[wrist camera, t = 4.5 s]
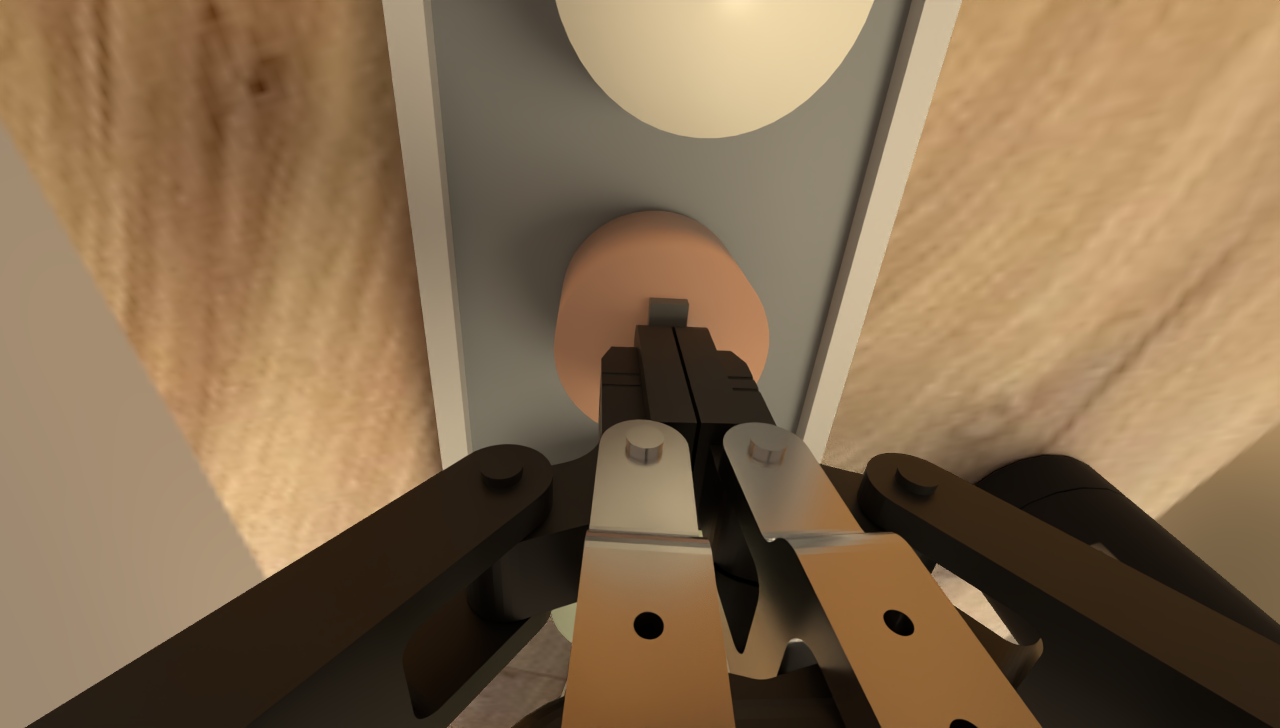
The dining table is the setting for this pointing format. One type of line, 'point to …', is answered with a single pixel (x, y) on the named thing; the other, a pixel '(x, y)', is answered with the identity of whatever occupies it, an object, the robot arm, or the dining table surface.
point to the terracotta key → (651, 297)
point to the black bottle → (1113, 537)
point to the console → (636, 205)
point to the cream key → (711, 57)
